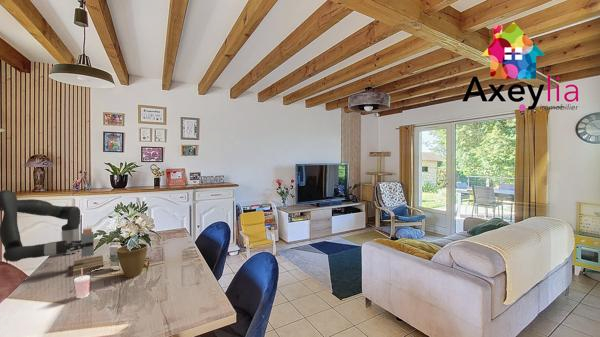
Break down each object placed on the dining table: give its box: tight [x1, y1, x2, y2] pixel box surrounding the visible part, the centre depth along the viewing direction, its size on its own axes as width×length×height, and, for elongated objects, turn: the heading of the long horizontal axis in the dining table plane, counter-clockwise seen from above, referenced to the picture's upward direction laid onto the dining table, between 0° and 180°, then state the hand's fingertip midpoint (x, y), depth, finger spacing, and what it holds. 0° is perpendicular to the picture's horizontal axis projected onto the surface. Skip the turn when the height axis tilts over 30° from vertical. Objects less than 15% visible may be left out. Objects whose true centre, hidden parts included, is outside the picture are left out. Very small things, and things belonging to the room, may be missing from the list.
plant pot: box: [117, 243, 148, 279], centre depth 149 cm, size 15×15×16 cm
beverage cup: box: [73, 268, 91, 299], centre depth 126 cm, size 6×6×14 cm
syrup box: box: [109, 243, 122, 267], centre depth 158 cm, size 6×6×14 cm
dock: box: [72, 254, 105, 276], centre depth 161 cm, size 20×14×3 cm
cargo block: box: [82, 227, 93, 235], centre depth 160 cm, size 4×4×4 cm
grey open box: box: [80, 231, 95, 258], centre depth 160 cm, size 6×6×13 cm
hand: (92, 242), depth 162 cm, fingers closed on grey open box, 5 cm apart
